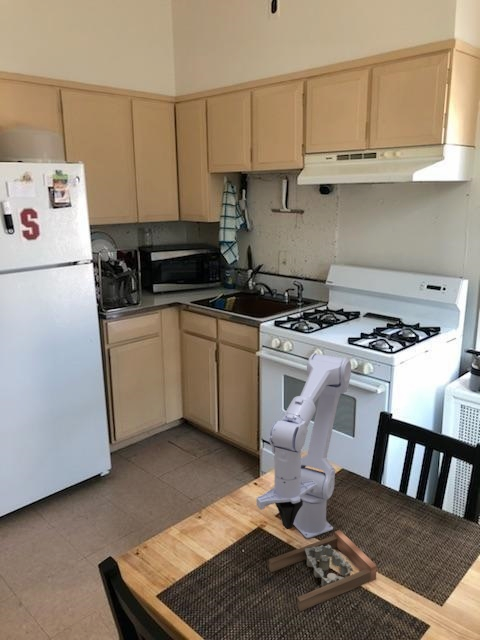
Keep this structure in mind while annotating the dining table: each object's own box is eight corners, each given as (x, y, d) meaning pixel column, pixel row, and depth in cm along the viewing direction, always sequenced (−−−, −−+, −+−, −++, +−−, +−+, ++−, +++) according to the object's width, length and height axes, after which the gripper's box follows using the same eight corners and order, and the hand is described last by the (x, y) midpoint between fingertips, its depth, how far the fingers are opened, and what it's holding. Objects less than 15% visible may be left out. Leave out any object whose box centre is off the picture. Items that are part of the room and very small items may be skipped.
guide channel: (268, 568, 117) (268, 555, 116) (339, 542, 125) (339, 529, 124) (300, 611, 106) (300, 597, 105) (375, 579, 114) (376, 565, 113)
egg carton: (354, 585, 112) (355, 570, 111) (323, 594, 110) (323, 578, 109) (331, 553, 122) (332, 538, 121) (302, 560, 120) (302, 545, 119)
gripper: (267, 491, 107) (267, 547, 111) (325, 473, 113) (324, 526, 117) (251, 474, 113) (252, 528, 117) (307, 458, 119) (307, 509, 123)
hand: (287, 526), depth 117 cm, fingers closed
